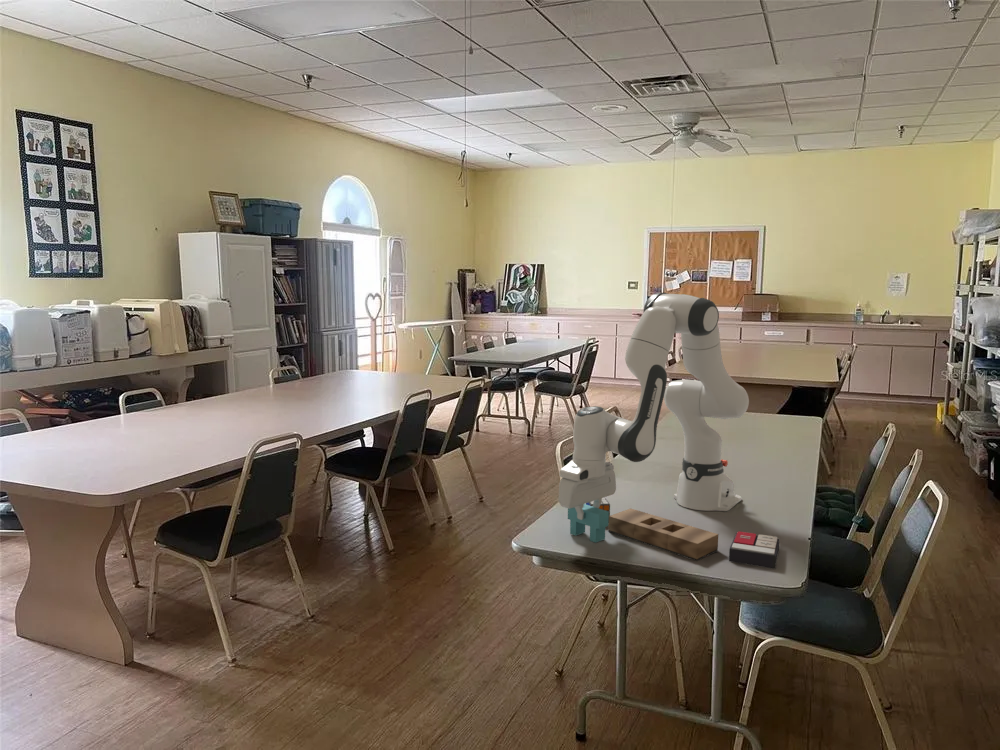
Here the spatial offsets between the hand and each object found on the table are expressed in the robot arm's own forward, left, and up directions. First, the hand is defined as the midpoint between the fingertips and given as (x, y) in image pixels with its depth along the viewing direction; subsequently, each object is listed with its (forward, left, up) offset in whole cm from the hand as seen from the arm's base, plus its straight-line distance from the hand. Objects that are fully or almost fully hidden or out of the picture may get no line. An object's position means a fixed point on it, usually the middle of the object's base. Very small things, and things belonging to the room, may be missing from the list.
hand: (587, 516), depth 195 cm
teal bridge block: (0, 0, -6) cm, 6 cm away
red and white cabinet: (-23, +37, -7) cm, 44 cm away
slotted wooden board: (-13, +15, -6) cm, 21 cm away
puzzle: (-13, -7, -6) cm, 16 cm away
